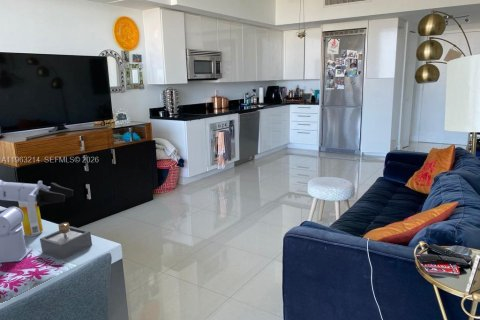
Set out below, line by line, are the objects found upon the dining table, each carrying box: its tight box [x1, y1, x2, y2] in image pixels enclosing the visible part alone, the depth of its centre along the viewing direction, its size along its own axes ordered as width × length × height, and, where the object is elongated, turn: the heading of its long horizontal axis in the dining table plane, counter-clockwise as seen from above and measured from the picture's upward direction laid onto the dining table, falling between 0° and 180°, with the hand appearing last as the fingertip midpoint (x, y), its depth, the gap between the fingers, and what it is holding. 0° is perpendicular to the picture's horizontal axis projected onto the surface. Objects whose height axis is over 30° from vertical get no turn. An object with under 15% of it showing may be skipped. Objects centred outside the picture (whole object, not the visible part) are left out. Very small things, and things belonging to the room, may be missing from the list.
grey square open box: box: [39, 225, 93, 260], centre depth 123 cm, size 11×11×5 cm
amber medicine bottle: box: [17, 201, 44, 237], centre depth 135 cm, size 6×6×15 cm
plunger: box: [48, 222, 82, 243], centre depth 122 cm, size 8×8×5 cm
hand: (68, 195), depth 117 cm, fingers open, 7 cm apart
